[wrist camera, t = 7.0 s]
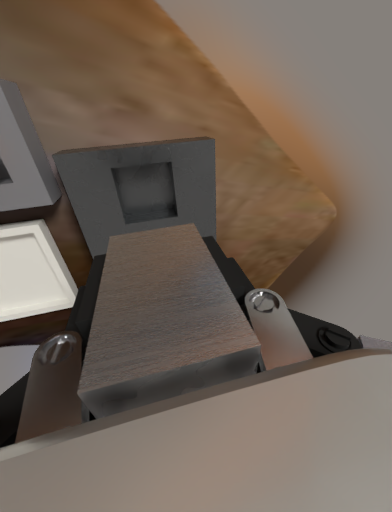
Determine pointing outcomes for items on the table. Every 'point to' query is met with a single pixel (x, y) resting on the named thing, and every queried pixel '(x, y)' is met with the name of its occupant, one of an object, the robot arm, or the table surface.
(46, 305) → the tray
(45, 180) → the button housing
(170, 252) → the billet
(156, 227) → the grey slotted frame
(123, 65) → the table surface
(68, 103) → the table surface
